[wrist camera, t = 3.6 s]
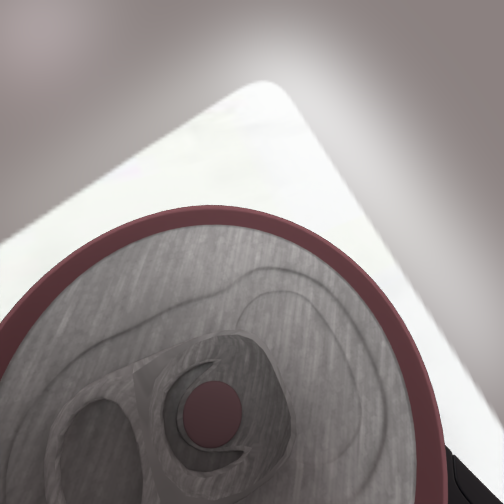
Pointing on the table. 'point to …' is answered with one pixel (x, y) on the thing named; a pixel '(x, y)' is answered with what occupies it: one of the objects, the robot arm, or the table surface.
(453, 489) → the robot arm
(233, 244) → the soda can
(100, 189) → the table surface
